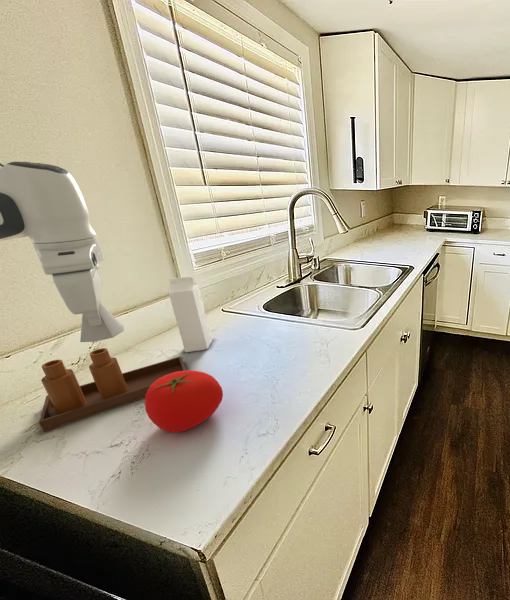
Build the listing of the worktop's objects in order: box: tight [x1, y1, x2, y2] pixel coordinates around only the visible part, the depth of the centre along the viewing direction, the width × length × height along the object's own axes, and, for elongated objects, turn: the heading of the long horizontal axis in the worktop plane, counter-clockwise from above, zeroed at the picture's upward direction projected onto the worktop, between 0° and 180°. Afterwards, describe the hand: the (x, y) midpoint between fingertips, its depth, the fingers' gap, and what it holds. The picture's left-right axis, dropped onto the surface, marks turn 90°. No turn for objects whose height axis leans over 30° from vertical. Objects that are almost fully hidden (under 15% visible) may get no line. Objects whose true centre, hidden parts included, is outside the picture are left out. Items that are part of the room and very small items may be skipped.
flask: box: [79, 299, 125, 343], centre depth 67 cm, size 7×7×10 cm
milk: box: [168, 276, 213, 353], centre depth 96 cm, size 6×6×22 cm
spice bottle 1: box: [40, 359, 87, 414], centre depth 71 cm, size 5×5×12 cm
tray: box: [38, 355, 187, 432], centre depth 78 cm, size 26×11×2 cm, turn 130°
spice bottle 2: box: [88, 347, 128, 400], centre depth 75 cm, size 5×5×12 cm
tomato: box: [144, 369, 224, 434], centre depth 67 cm, size 12×14×11 cm
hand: (97, 319), depth 67 cm, fingers closed on flask, 5 cm apart
